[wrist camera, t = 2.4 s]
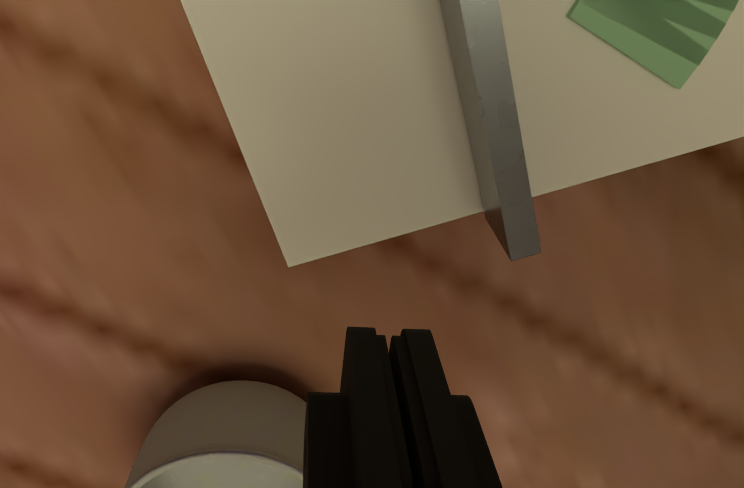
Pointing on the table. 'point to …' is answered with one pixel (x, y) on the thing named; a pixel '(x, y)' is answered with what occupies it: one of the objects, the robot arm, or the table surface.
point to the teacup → (225, 440)
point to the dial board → (455, 102)
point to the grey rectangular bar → (492, 121)
